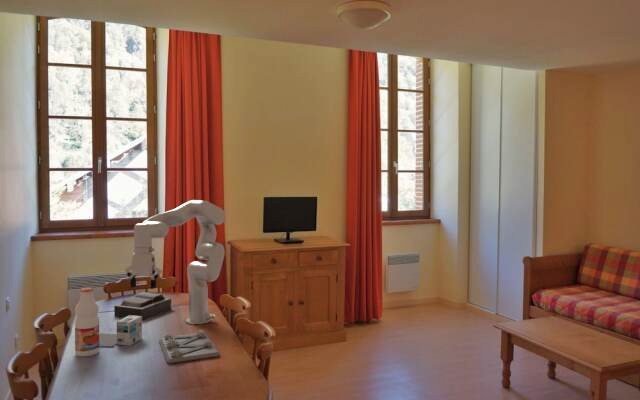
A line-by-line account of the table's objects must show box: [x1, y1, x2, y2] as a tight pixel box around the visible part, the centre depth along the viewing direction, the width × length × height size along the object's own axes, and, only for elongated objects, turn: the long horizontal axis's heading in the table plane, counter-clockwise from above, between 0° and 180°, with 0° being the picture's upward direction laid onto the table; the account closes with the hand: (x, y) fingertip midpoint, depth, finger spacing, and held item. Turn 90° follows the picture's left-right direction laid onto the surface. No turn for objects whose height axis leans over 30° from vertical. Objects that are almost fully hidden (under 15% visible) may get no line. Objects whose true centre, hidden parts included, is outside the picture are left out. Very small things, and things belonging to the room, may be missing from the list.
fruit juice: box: [74, 286, 100, 358], centre depth 207 cm, size 9×9×28 cm
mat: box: [99, 333, 118, 348], centre depth 223 cm, size 14×16×1 cm
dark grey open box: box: [113, 291, 172, 321], centre depth 268 cm, size 23×27×10 cm
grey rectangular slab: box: [158, 329, 221, 365], centre depth 213 cm, size 30×22×7 cm
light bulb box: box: [116, 315, 143, 347], centre depth 222 cm, size 11×7×11 cm, turn 169°
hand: (143, 287), depth 221 cm, fingers open, 9 cm apart
